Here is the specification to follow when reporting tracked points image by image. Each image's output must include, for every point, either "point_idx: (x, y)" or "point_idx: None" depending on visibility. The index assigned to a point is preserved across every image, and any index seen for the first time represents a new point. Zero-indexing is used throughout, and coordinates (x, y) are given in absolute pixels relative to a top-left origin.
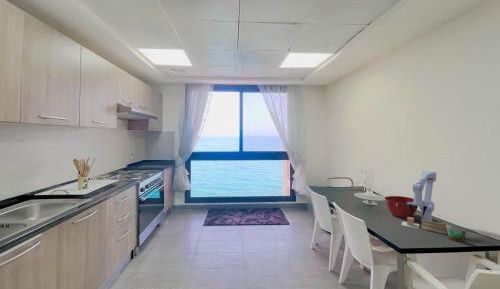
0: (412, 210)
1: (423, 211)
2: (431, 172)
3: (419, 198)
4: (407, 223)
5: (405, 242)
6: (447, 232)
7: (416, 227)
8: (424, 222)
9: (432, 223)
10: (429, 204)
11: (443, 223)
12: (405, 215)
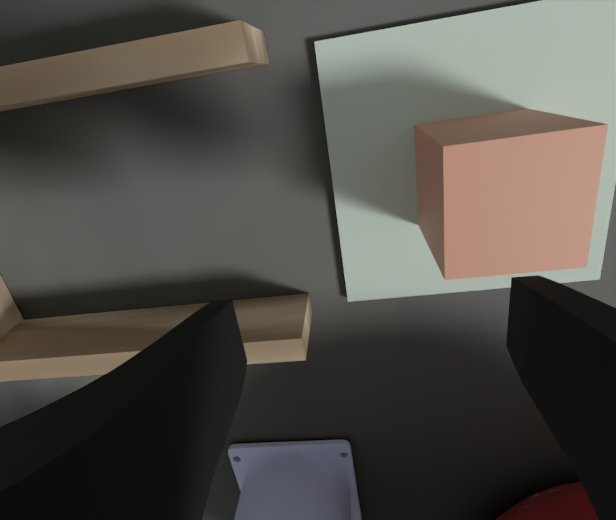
0: (578, 375)
1: (150, 371)
2: None
3: None
4: (532, 110)
5: None
6: None
7: (356, 53)
8: (271, 324)
9: (163, 334)
10: None
11: (24, 374)
12: (563, 500)
